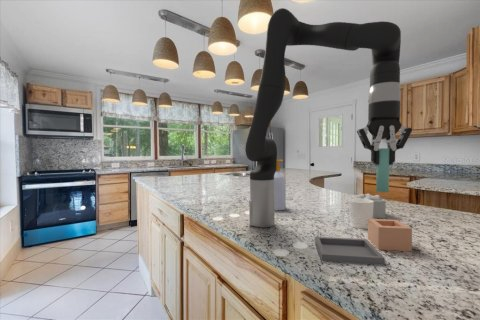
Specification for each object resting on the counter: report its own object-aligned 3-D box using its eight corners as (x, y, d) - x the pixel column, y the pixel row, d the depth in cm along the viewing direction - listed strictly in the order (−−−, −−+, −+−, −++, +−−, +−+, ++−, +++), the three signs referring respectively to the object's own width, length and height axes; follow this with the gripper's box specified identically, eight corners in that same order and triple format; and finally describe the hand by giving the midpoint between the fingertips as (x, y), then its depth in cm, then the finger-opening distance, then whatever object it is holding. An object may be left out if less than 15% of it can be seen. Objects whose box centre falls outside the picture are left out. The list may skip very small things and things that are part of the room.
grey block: (362, 218, 95) (362, 197, 95) (349, 210, 108) (349, 192, 108) (389, 218, 95) (389, 197, 94) (372, 210, 108) (372, 192, 107)
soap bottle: (275, 212, 107) (275, 160, 106) (264, 207, 116) (263, 159, 115) (290, 209, 111) (290, 159, 110) (278, 205, 119) (278, 159, 119)
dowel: (378, 192, 64) (379, 148, 64) (374, 190, 67) (375, 148, 67) (390, 192, 64) (391, 148, 63) (385, 190, 67) (386, 148, 66)
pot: (378, 252, 63) (378, 227, 63) (367, 241, 71) (367, 218, 71) (411, 254, 62) (411, 228, 61) (396, 243, 70) (397, 219, 69)
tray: (321, 264, 57) (321, 254, 57) (315, 245, 69) (315, 236, 69) (384, 268, 55) (384, 258, 55) (366, 247, 66) (366, 239, 66)
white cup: (377, 232, 79) (377, 203, 78) (351, 231, 80) (351, 202, 80) (369, 225, 86) (369, 198, 86) (346, 224, 88) (346, 197, 88)
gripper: (361, 100, 62) (360, 165, 63) (420, 97, 60) (418, 165, 60) (352, 105, 69) (351, 163, 70) (404, 103, 67) (403, 163, 68)
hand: (382, 164), depth 65 cm, fingers closed on dowel, 3 cm apart
